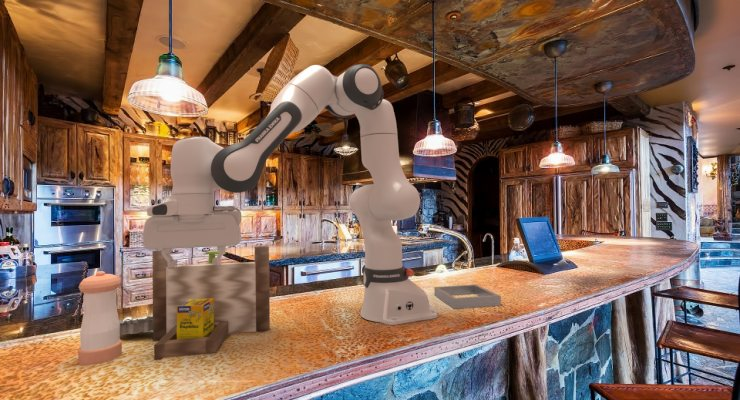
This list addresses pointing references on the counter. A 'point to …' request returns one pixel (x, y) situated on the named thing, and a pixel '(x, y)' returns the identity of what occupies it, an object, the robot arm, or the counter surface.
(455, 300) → the frame
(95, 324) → the pepper shaker
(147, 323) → the egg carton
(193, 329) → the supplement box
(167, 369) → the counter surface
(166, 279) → the wooden display stand
